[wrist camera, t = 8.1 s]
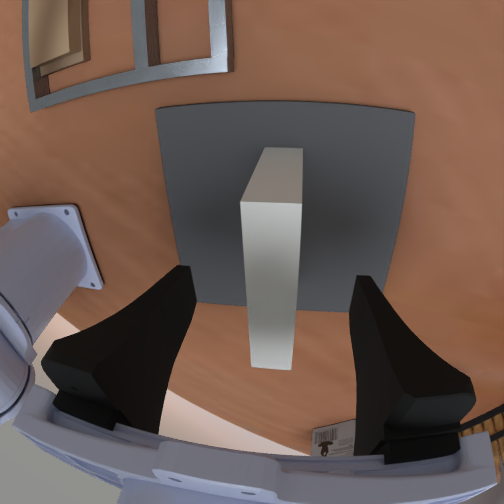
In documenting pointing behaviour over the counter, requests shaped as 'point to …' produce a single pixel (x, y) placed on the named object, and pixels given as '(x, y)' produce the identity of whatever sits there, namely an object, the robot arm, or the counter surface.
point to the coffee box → (334, 440)
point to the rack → (138, 55)
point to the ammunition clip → (486, 422)
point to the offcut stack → (58, 34)
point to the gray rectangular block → (272, 254)
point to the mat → (313, 190)
